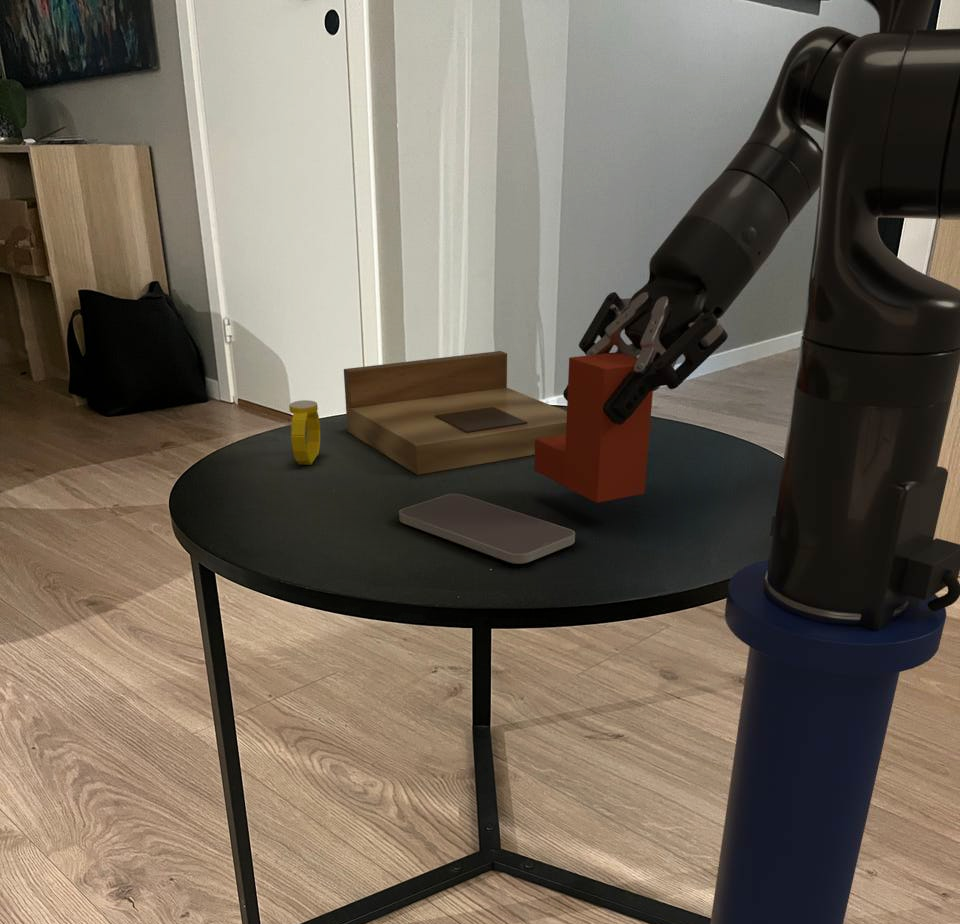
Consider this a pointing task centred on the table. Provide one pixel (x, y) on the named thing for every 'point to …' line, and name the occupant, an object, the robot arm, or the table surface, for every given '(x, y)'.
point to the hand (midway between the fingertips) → (590, 409)
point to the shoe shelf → (446, 412)
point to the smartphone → (488, 528)
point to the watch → (304, 417)
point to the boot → (598, 434)
